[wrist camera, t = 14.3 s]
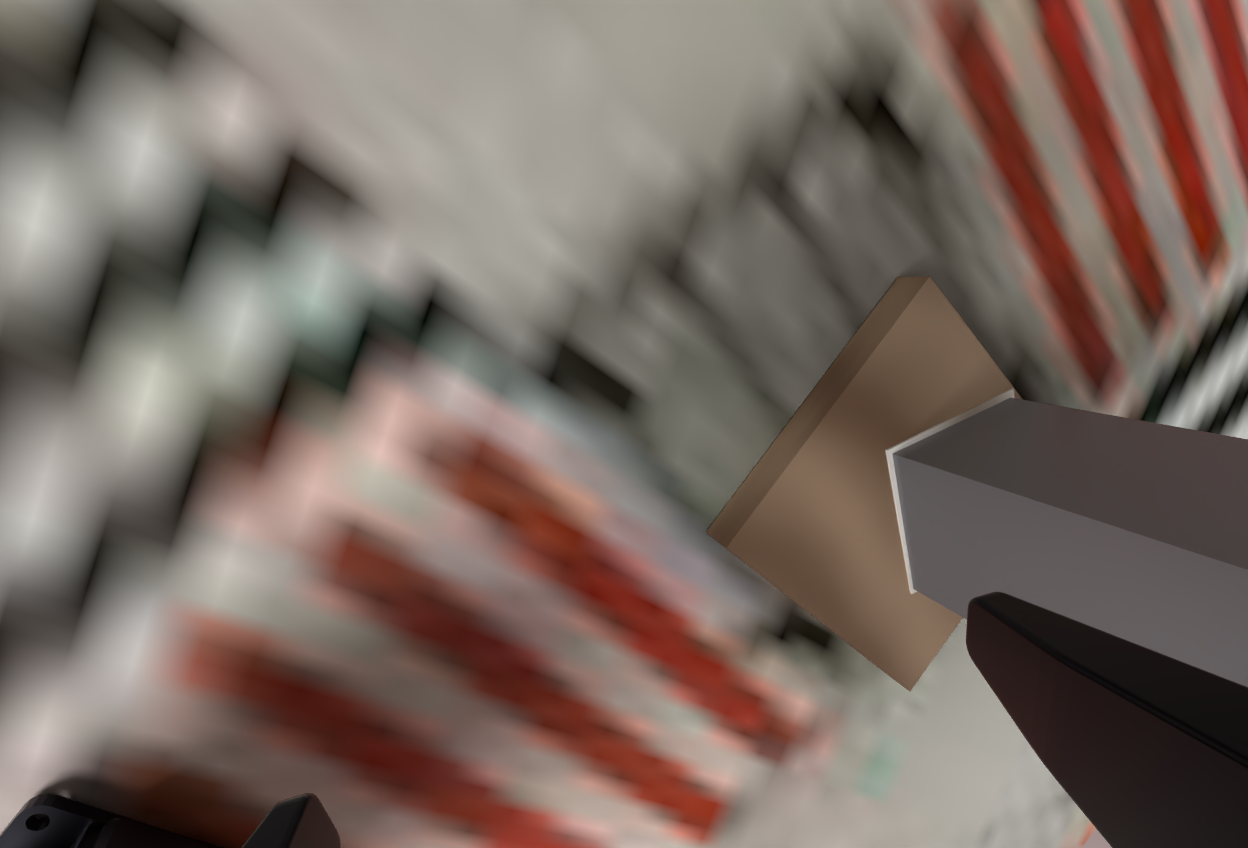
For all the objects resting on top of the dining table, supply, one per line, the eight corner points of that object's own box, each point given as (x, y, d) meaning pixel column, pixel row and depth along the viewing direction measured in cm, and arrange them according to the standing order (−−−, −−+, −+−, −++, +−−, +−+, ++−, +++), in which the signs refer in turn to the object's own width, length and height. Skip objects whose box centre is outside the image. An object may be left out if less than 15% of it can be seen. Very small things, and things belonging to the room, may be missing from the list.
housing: (912, 589, 25) (1359, 844, 14) (891, 453, 23) (1388, 615, 12) (1022, 528, 27) (1504, 710, 15) (1011, 396, 25) (1548, 490, 13)
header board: (883, 671, 28) (962, 731, 24) (705, 532, 23) (769, 580, 19) (1038, 455, 29) (1138, 481, 25) (898, 276, 24) (995, 275, 20)
